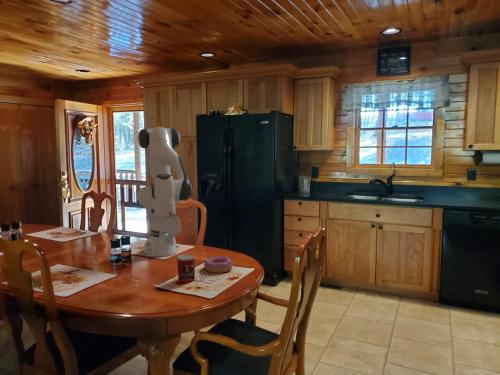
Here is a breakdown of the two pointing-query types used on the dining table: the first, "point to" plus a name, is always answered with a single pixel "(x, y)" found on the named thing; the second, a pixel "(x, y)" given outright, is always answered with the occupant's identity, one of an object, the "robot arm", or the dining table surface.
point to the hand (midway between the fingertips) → (166, 241)
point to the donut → (218, 264)
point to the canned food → (186, 268)
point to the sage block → (165, 240)
